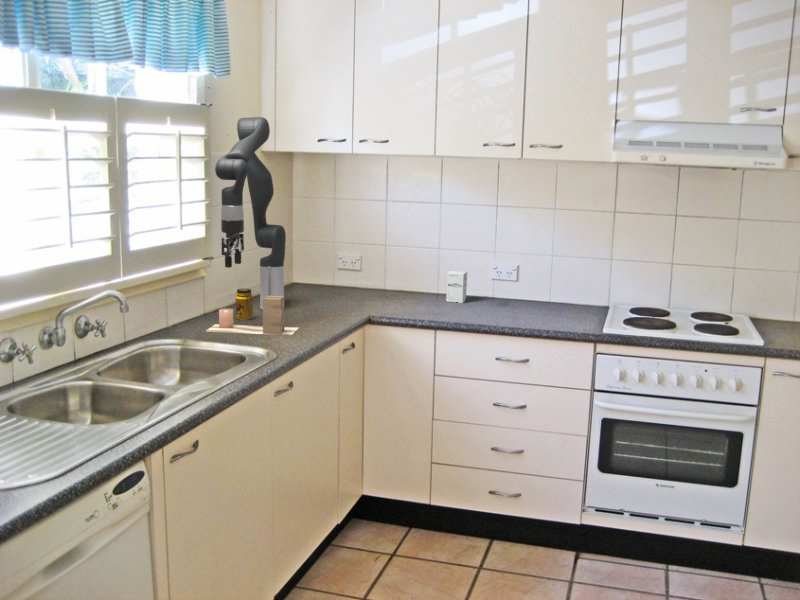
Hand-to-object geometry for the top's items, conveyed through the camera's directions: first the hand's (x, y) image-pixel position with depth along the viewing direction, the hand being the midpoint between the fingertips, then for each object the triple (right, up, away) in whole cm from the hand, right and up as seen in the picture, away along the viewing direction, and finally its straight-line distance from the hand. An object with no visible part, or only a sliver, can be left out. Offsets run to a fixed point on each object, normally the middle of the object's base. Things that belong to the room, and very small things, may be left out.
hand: (233, 265), depth 290 cm
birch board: (+6, -23, +2) cm, 24 cm away
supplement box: (+81, -13, +69) cm, 107 cm away
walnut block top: (+14, -17, -2) cm, 22 cm away
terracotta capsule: (-3, -21, +5) cm, 22 cm away
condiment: (+1, -20, +20) cm, 28 cm away
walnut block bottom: (+14, -23, -1) cm, 27 cm away
